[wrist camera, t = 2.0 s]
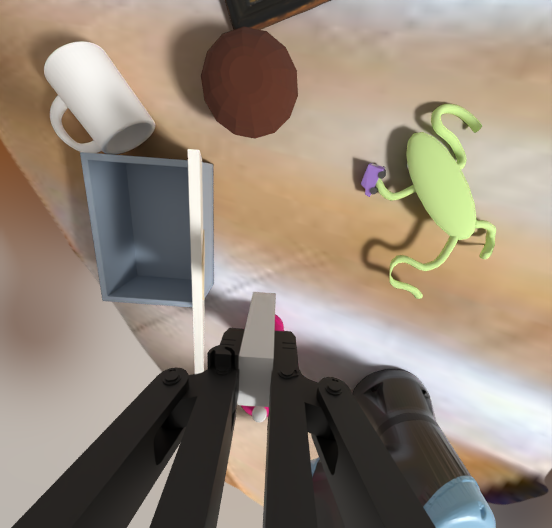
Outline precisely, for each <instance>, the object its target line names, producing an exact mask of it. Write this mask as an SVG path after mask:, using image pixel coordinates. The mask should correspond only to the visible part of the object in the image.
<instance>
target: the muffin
mask: <svg viewBox="0 0 552 528" xmlns="http://www.w3.org/2000/svg"><path fill="white" fill-rule="evenodd" d="M201 79H202V86H203V93H204V100H205V102H206V104H207V105H208V107H209V109H210V110H211V112H212V114H213V116H214V117H215V119H216V121H217V122H219V123H220V124H221V125H223V126H224V127H225V128H227V129H228V130H229V131H231V132H232V133H233V134H235V135H240V136H245V137H250V138H258V137H262V136H265V135H268V134H272V133H275V132H276V131H277V130H278V129H279V128H280V127H281V126H282V125H283V124H284V123H285V122H286V121H287V120H288V119H289V118H290V116H291V113H292V110H293V108H294V105H295V102H296V99H297V97H298V88H297V70H296V68H295V66H294V64H293V62H292V60H291V58H290V56H289V53H288V51H287V49H286V47H285V46H283V45H282V44H281V43H280V42H279V41H277V40H276V39H275V38H274V37H273V36H272V35H270V34H269V33H268V32H267V31H262V30H258V29H253V28H248V27H241V28H238V29H235V30H233V31H230V32H227V33H224V34H222V35H221V36H220V37H219V39H218V40H217V41H216V42H215V43H214V44H213V46H212V47H211V48H210V49H209V50H208V51H207V54H206V58H205V62H204V66H203V70H202V74H201Z"/></svg>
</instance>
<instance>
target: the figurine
mask: <svg viewBox="0 0 552 528" xmlns="http://www.w3.org/2000/svg"><path fill="white" fill-rule="evenodd" d="M444 113H449V114H453V115H456V116H458V117H459V118H461V119H462V120H463V121H464V122H465V123H466V124H467V125H468V126H469V127H470V128H471V129H472V131H473V132H474V133H476V132H477V131H479V130H480V129H481V127H482V125H481V123H480V122H479V121H478V120H477V119H476V118H475V117H474V116H473V115H472V114H471V113H470V112H469V111H467V110H466V109H464V108H462V107H460V106H458V105H455V104H444V105H441V106H439V107H437V108H436V109H435V110H434V111H433V113H432V116H431V123H432V127H433V130H434V131H435V132H436V133H437V134H438V135H439V136H440V137H442V138H443V139H444V140H446V142H447V143H448V144H449V145H450V146H451V148H452V150H453V152H454V154H455V156H456V159H457V162H456V161H455V160H454V158H453V157H452V156H451V154H450V153H449V151H448V150H447V149H446V148H445V147H444V146H443V145H442V144H441V143H440V142H439V141H438V140H437V139H435V138H434V137H432V136H430V135H428V134H426V133H424V132H420V133H413V135H412V136H411V138H410V139H409V141H408V144H407V153H406V156H407V163H408V164H407V168H408V169H409V174H410V176H411V179H412V182H413V185H412V186H410V187H408V188H406V189H404V190H402V191H400V192H397V193H392V192H390V191H389V190H388V189H387V188H385V186H384V184H383V182H382V180H381V179H382V178H384V177H385V176H386V170H385V167H384V166H383V167H381V166H378V165H375V164H372V163H370V164H368V167H367V169H366V172H365V174H364V177H363V179H362V182H361V185H362V186H363V187H364V188H365V189H366V190H365V195H367V196H369V197H370V195H371V194H375V193H376V192H377V190H378V191H379V193H380V194H381V195H382V196H383V197H384V198H386V199H388V200H390V201H392V200H398V199H401V198H403V197H406V196H408V195H410V194H412V193H414V192H416V193H417V195H418V196H419V198H420V200H421V202H422V204H423V206H424V208H425V209H426V211H427V212H428V213H429V215H430V216H431V217H432V219H433V220H434V221H435V223H436V224H437V225H438V226H439V227H440V228H441V229H442V230H444V231H445V232H446V233H447V234H448V235H450V237H449V239H448V241H447V243H446V245H445V246H444V248H443V250H442V251H441V253H440V254H439V256H438V257H437V258H436V259H435V260H434V261H431V262H429V263H425V264H422V263H420V262H418V261H416V260H414V259H412V258H410V257H408V256H404V255H399V256H396V257H395V258H394V259H393V260H392V261H391V264H390V284H391V285H392V286H393V287H395V288H399V289H404V290H407V291H409V292H411V293H412V294H413V295H414V297H415V298H417V299H420V298H422V297H423V295H422V294H421V292H420V291H419V290H418V289H417V288H416V287H414V286H412V285H410V284H407V283H403V282H399V281H396V280H394V279H393V278H392V277H391V272H392V269H393V267H394V266H395V265H396V264H398V263H402V262H405V263H407V264H410V265H411V266H413V267H415V268H417V269H419V270H423V271H428V270H432V269H434V268H437V267H439V266H440V265H441V264H442V263H443V262H444V261H445V260H446V259H447V257H448V256H449V255H450V253H451V251H452V250H453V248H454V246H455V245H456V243H457V241H458V239H459V240H462V239H468V238H469V237H470V236H471V235H472V234H473V233H474V230H475V228H483V229H485V230H487V233H486V244H485V245H484V248H483V250H482V251H481V253H480V258H482V259H487V258H488V257H490V255H491V254H492V252H493V248H494V246H495V234H496V228H495V226H494V225H492V224H491V223H489V222H488V221H484V220H482V221H478V220H476V213H475V204H474V201H473V197H472V194H471V191H470V188H469V185H468V183H467V181H466V179H465V177H464V175H463V173H462V171H461V169H462V168H464V166H465V164H466V155H465V152H464V150H463V148H462V146H461V144H460V142H459V140H458V138H457V137H456V136H455V135H454V134H453V133H452V132H450V131H449V130H448V129H446V128H445V127H444V126H443V124H442V122H441V115H442V114H444Z"/></svg>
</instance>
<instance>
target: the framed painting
mask: <svg viewBox="0 0 552 528" xmlns="http://www.w3.org/2000/svg"><path fill="white" fill-rule="evenodd" d="M328 1H331V0H225V2H226V6H227V9H228V12H229V16H230V19H231V22H232V25H233V28H234V30H235V29H238V28H241V27H248V28H253V29H258V30H261V29H263V28H265V27H268V26H270V25H273V24H275V23H277V22H280V21H282V20H285V19H287V18H290V17H292V16H295V15H297V14H300V13H303V12H305V11H308V10H310V9H312V8H315V7H317V6H319V5H321V4H323V3H326V2H328Z"/></svg>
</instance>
